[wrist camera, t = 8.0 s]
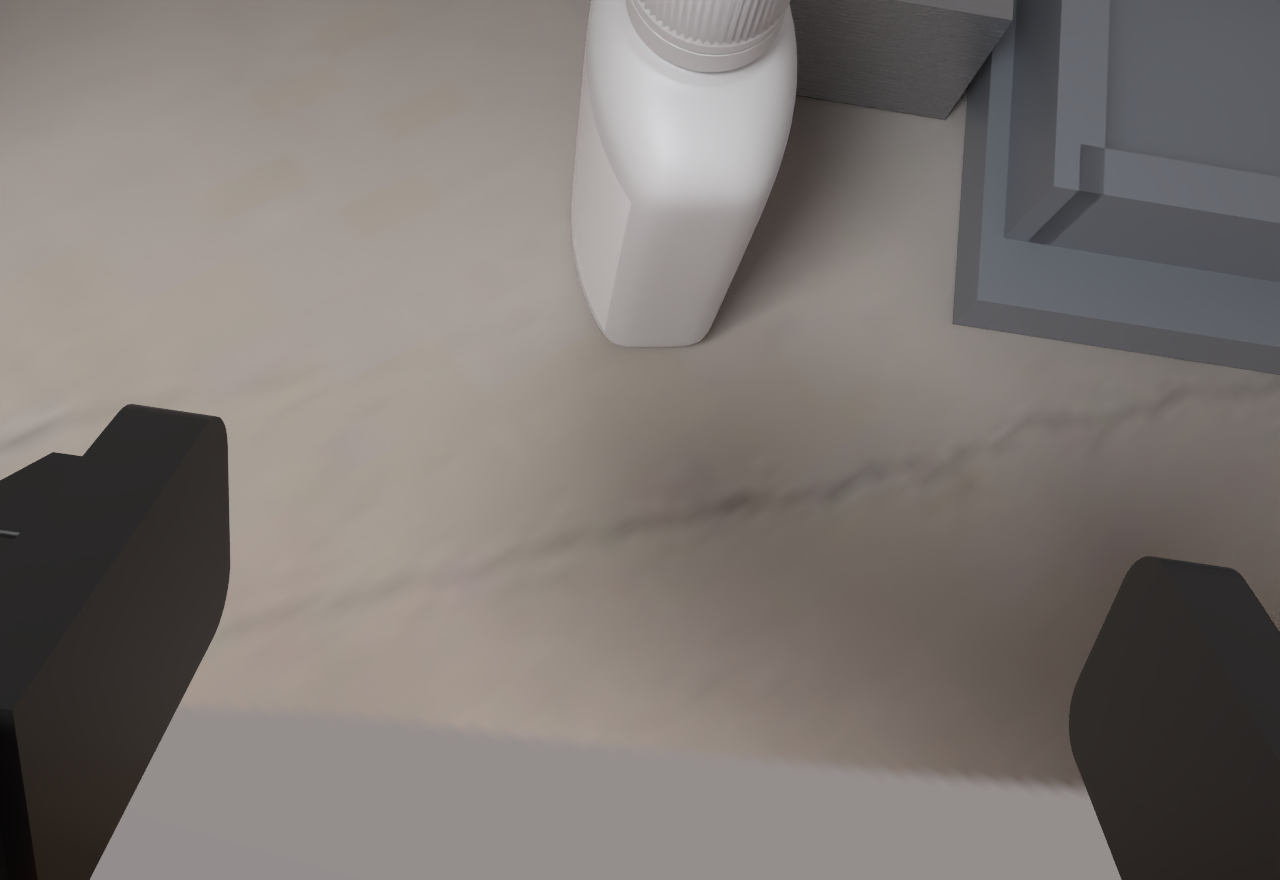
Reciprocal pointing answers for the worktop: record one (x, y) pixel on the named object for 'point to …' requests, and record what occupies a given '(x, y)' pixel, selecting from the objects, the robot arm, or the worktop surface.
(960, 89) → the button box
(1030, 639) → the worktop surface
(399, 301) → the worktop surface
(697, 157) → the eye dropper bottle
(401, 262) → the worktop surface
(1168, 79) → the tray
